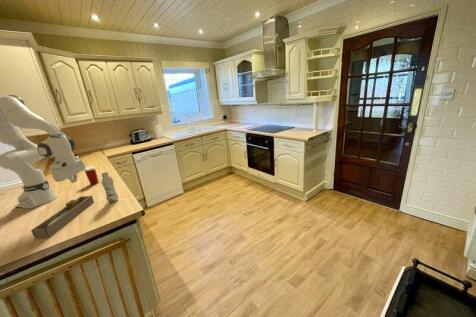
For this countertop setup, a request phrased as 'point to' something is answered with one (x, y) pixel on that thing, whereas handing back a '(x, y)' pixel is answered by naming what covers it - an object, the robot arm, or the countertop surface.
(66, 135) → the robot arm
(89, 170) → the paper cup
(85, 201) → the long grey tray
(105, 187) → the plastic bottle
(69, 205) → the block
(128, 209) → the countertop surface
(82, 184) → the countertop surface
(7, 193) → the countertop surface
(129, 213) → the countertop surface
